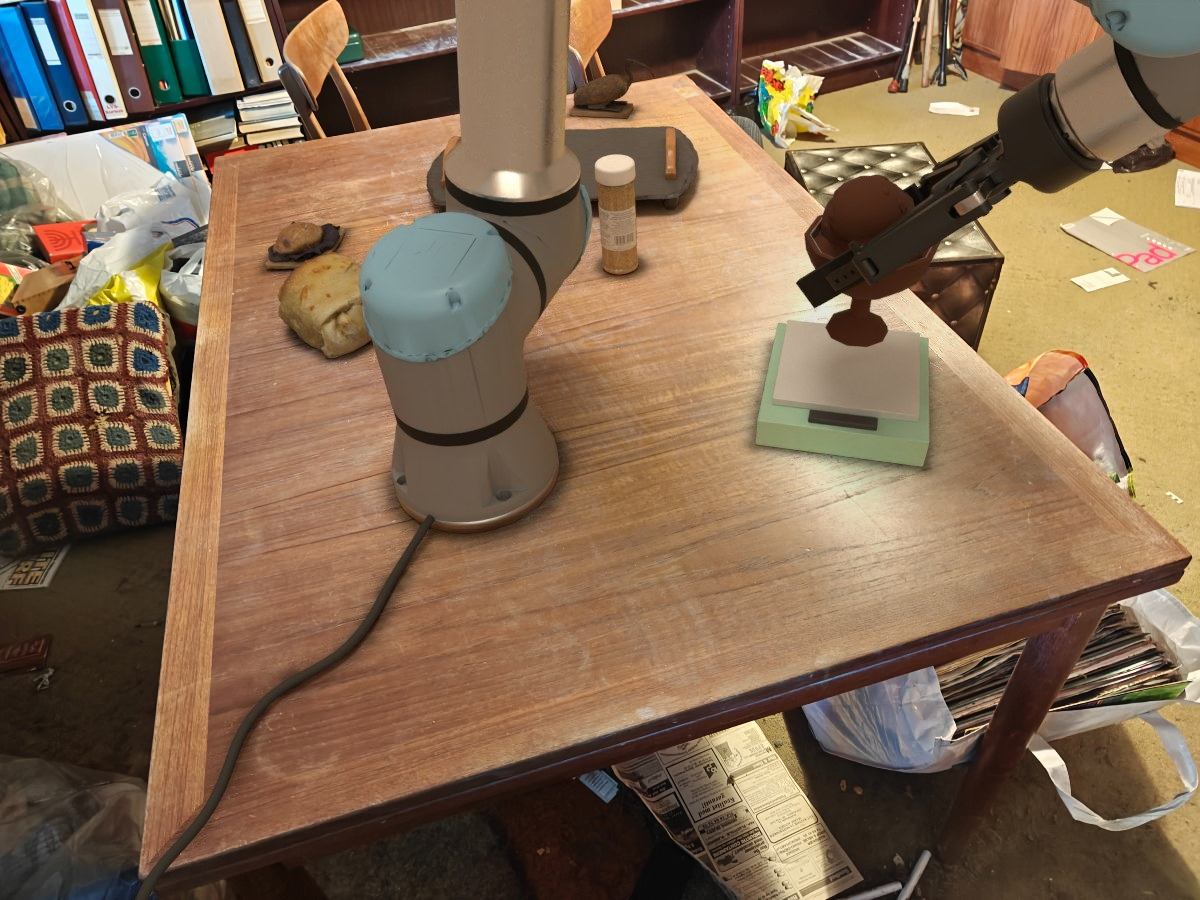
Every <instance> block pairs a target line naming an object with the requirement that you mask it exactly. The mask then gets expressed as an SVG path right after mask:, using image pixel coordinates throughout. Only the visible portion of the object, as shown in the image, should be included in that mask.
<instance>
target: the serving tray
mask: <svg viewBox="0 0 1200 900" xmlns="http://www.w3.org/2000/svg"><path fill="white" fill-rule="evenodd" d="M459 141H461V135H453V136H452V137H450V138H449V140H448V141H447V144H446V146H445V148H444V149H443V150H442V151H441V152H440V153H439V154H438V155H437V157H435V158H434V159H433V161H432V163H431V164H430V167H429V169H428V171H427V173H426V188H427V189H426V192H427V193H428V194H429V196H430V200H431V202H432V203H433V205H435V206H437V207H438V211H439V213H445V212H446V195H445V175H444V160H445V156H446V155H447V153H448V152H449V151H450V150H451V149H452V148H453V147H454V146H455V145H456V144H457V143H458V142H459ZM564 144H565V145H566V146H567V147H568V148H569V149H570V150H571V151H572V152H573V153H574V154H575V155H576V157H577V158H578V160H579V162H580V170H581V175H580V184H581V185H584V186H585V188H586V191H587V193H588V196H589V199H590V202H599V199H598V185H597V181H596V179H595V163H596V161H597V160H599V159H600V158H602V157H605V156H608V155H625V156H629V157H630V158H632V159H633V160H634V163H635V181H634V191H635V201H640V200H641V201H643V200H645V201H646V200H662V204H663V205H664V207H665V209H666V210H676V208H677V206H678V204H679V202H680V199H679V197H680V196H681V195H683V194H684V193H685V192H686V191H687V190H688V189H689V188H690V187H689V186H690V185H691V184H692V183H693V182H694V180H695V178H696V176H697V171H698V168H699V164H700V158H699V154H698V151H697V150H696V149H695V146H694V143H693V142H692V141H691V139H690V138H689V137H688V136H687V135H686V134H685V133H683V131H682V130H681V129H679V128H676V127H675V126H668V125H661V126H639V127H638V126H637V127H634V126H633V127H632V126H631V127H608V128H607V127H606V128H573V129H572V128H570V129H566V128H565V138H564Z"/></svg>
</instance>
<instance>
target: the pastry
mask: <svg viewBox="0 0 1200 900" xmlns="http://www.w3.org/2000/svg"><path fill="white" fill-rule="evenodd" d="M361 267H362V265H360V264H359V263H358V262H356V260H355V259H353V258H352V257H350V256H345V255H341V254H338V253H336V251H334V252H328V253H326V255H322V256H317V257H316V258H314V259H310V260H306V261H304V262H303V263H302V264H301V265H300V266H298V267H297V268H296V269H292V271H291V272H290V273H289V275H288V276H287V277H286V279H285V280H284V281H283V284H282V285H281V286H280V287H279V288H278V289H279V290H278V293H277V299H278V301H279V306H278V317H279V318H280V319H281V320H282V321H283V323H284V324H285V325H286V326H288V327H289V328H290V329H291V330H293V331H294V332H295V333H296V334H297V336H298V337H299V339H300V340H301V341H302V342H304V343H306V344H308V345H309V346H310V347H313V348H315V349H318V350H320V351H322V352H323V354H324V355H325V356H326V357H327V358H329V359H336V358H339V357H342V356H345V355H348V354H351V353H353V352H355V351H356V350H358V349H360V348H361V347H363V346H365V345H367V344H368V343H370V342H372V339H371V336H370V335H369V333H368V331H367V328H366V324H365V322H364V318H363V308H362V306H363V304H362V299H361V294H360V289H359V276H360V270H361Z"/></svg>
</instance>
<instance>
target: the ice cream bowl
mask: <svg viewBox="0 0 1200 900" xmlns="http://www.w3.org/2000/svg"><path fill="white" fill-rule="evenodd" d="M914 207H915V206H914V202H913V199H912V198H911V197H910V196H909V195H908V194H907V193H906V192H905V191H903V189H902V188H901V187H900V186H899V185H898V184H897V183H895V182H892V181H891V180H890V179H889V178H888V177H887V176H885V175H882V174H872V175H859V176H856V177H854V178H852V179H850V180H848V181H845V182H843V183H842V184H840V185H839V186H838V187H837V188H836V189H835V190H834V191H833V194H832V197H831V198H830V200H828V202H827V203H826V205H825V207H824V210H823V213H822V214H819V215H817V216H816V217H815V219H814V220H813V221H812V223H811V224H810V225H809V227H808V228H807V229H806V231H805V232H804V233H803V235H804V245H805V250H806V253H807V256H808V258H809V260H810V263H811V264H812V266H813V268H814V270H815V269H817V268H818V267H820V266H822V265H824V264H825V263H827V262H829V261H830V260H832V259H834V258H835V257H837V256H839V255H840V254H842V253H844V252H845V251H847V250H849V249H850V247H849V246H848V244H849V243H850V242H851V241H853V240H855V241H856V242H857V244H859V243H860V245H863V244H865V243H866V242H868V241H869V240H870V239H872V238H873V237H874V236H876V235H877V234H879V233H880V232H881V231H883V230H884V229H886V228H887V227H888V226H890V225H891V224H892V223H894V222H895V221H897V220H898V219H899V218H901V217H902V216H903V215H905V214H906V213H908V212H909V211H910V210H912V209H913V208H914ZM941 243H942V241H940V242H938V243H937V244H935V245H934V246H932V247H931V248H929V249H927V250H926V251H924V252H923V253H921V254H920V255H918V256H917V257H915V258H913V259H912V260H910V261H909V262H907V263H906V264H904V265H902V266H901V267H899V268H898V269H896V270H895V271H893V272H892V273H890V274H888V275H887V276H885V277H884V278H882V279H881V280H880V281H879V282H878V283H876V284H873V285H870V286H869V284H868V283H867V281H864V282H862V283H860V284H858V285H856V286H855V287H853V288H851V289H849V290H847V291H846V292H844V293H842V295H845V296H848V297H850V298H851V301H850V305H849V308H846V309H843V310H840V311H837V312H835V313H833V314H832V315H831V317H830V318H829V320H828V321H827V323H826V324H827V325H826V327H825V328H826V330H827V332H828V334H829V335H830V337H831V338H832V339H834V340H836V341H838V342H840V343H842V344H844V345H846V346H857V347H869V346H872V345H874V344H877V343H880V342H883V340H884V338H885V336H886V335H887V333H888V330H889V328H888V325H887V324H886V322H885V320H884V319H883V317H882V315H879V314H876V313H874V312H872V311H871V306H872V301H876V300H881V299H884V298H888V297H890V296H893V295H895V294H896V295H897V294H899V293H902V292H904V291H907V290H908V289H910V288H911V287H913V286H915V285H917V284H918V283H919V282H920V280H921V279H922V278H923V277H924V275H925V274H926V272H927V271H928V269H929V267H930V265H931V263H932V261H933V260H934V257H935V255H936V253H937V251H938V249H939V247H940V244H941Z"/></svg>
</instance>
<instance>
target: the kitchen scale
mask: <svg viewBox="0 0 1200 900" xmlns="http://www.w3.org/2000/svg"><path fill="white" fill-rule="evenodd" d="M826 325H827V323H825V322H824V323H821V322H813V321H804V320H803V321H802V320H792V319H787V322H786V323H785V322H777V324H776V329H775V334H774V340H773V344H772V347H771V352H770V353H771V354H770V358H769V363H768V367H767V373H766V377H765V381H764V385H763V392H762V396H761V401H760V406H759V410H758V415H757V419H756V431H755V441H754V442H755V443H754V444H755V445H758V446H765V447H772V448H779V449H786V450H794V451H801V452H809V453H815V454H816V453H817V454H824V455H832V456H839V457H847V458H855V459H862V460H867V461H868V460H869V461H877V462H883V463H891V464H898V465H905V466H913V467H920V468H923V467H924V464H925V461H926V457H927V453H928V450H929V446H930V443H931V442H930V353H929V352H930V347H929V346H930V342H929V337H925V336H924V337H923V336H921V334H920V332H914V331H905V330H893V329H888V333H887V335H886V336H885V338H884V340H883V342H880V343H877V344H874V345H872V346H869V347H857V346H846V345H844V344H842V343H840V342H838V341H836V340H834V339H832V338H831V337H830V335H829V334H828V332H827V330H826V328H825V327H826Z"/></svg>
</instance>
